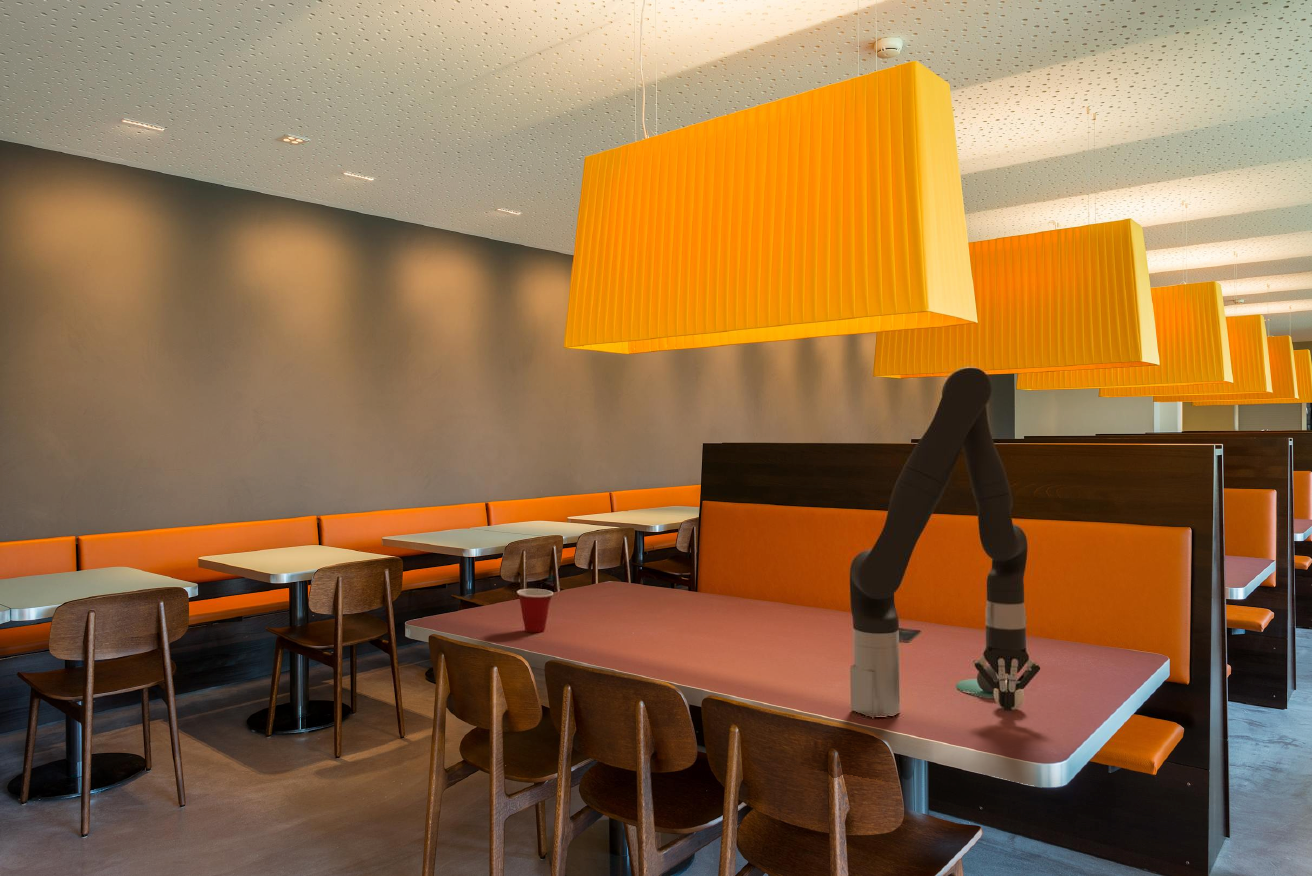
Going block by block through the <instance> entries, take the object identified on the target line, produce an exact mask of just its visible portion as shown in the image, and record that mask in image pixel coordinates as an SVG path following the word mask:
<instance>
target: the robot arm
mask: <svg viewBox="0 0 1312 876" xmlns="http://www.w3.org/2000/svg"><path fill="white" fill-rule="evenodd" d="M992 388H993V386H992V382H991V379H990V377H989V375H988V374H987V373H986V372H985V371H984V370H982V369H980V368H979V367H974V366H968V367H961V368H959V369H957V370H955V371H954V372H952V373H951V374H950V375H949V376H948V377H947V379H946V380H945V381H944V384H943V386H942V390H941V399H940V401H939V403H938V406H937V409H936V411H935V414H934V416H933V418H932V421H931V423H930V424H929V426H928V427H927V429H926V431H925V432H924V433H923V435H922V437H921V438H920V440H919V441H918V442H917V444H916V445H915V447H914V448H913V450H912V452H911V453H910V455H909V457H908V458H907V460H906V462H905V464H904V466H903V468H902V470H901V471H900V474H899V476H898V478H897V480H896V482H895V485H894V486H893V489H892V492H891V495H890V496H891V497H890V500H889V503H888V504H889V505H888V509H887V513H886V514H887V515H886V519H885V522H884V526H883V528H882V531H880V532H881V533H880V534H879V536H878V538H877V540H876V541H875V543H874V544H873V547H872V548H871V549H866V550H863V551H861V552H859V553H858V554H857V555H856V556H855V557H854V558H853V560H852V562H851V564H850V567H849V568H850V569H849V594H850V595H849V596H850V597H849V598H850V599H849V600H850V602H849V603H850V613H851V615H852V617H851V618H852V633H853V634H852V635H853V636H852V639H853V643H852V644H853V646H852V647H853V649H852V650H853V651H852V653H853V655H852V656H853V664H851V665H850V666H849V671H850V673H849V674H850V677H849V678H850V682H849V684H850V685H849V686H850V711H851V710H853V711H856V712H859V713H861V714H864V715H867V716H870V717H876V716H890V715H894V714H897V713H898V712H899V711H900V712H901V702H900V699H901V697H900V642H899V628H900V625H899V624H900V623H899V622H900V620H899V616H898V612H897V609H896V603H895V593H896V592H897V590H899V588H900V586H901V585H902V582H903V579H904V577H905V573H906V571H907V568H908V565H909V562H910V561H911V560H910V559H911V557H912V555H913V552H914V550H915V547H916V545H917V543H918V541H919V539H920V537H921V535H922V534H923V532H924V530H925V529H926V526H927V524H928V522H929V520H930V518H931V516H932V515H933V513H934V511H935V509H936V507H937V505H938V503H940V500H941V498H942V496H943V494H944V492H945V489H946V488H947V486H948V483H949V481H950V479H951V476H952V474H953V472H954V469H955V466H956V465H957V462H958V459H959V456H960V453H961V450H962V451H963V455H964V460H965V465H966V468H967V473H968V478H969V482H970V486H971V490H972V494H973V497H974V501H975V505H976V507H977V508H976V509H977V523H978V532H979V533H978V534H979V540H980V543H981V547H982V549H983V551H984V553H985V555H987V557H989V558H990V559H991V569H990V572H989V573H988V574H987V578H986V605H985V649H984V651H983V654H982V656H981V657H980V658H979V659H975V660H973V662H972V664H973V666H974V667H975V669H976V670H977V672H980V674H981V675H982V676H983V677H984V679H985V680H986V681H987V682H988V684H989V685H990V686H991V687H992V688H996V689H998V693H999V704H1000V706H1001V707H1000V706H999V707H1000V708H1002V709H1003V710H1004V711H1007V710H1008V711H1013V710H1012V707H1014V706H1015V691H1016V690H1018V689H1023V690H1024V689H1025V687H1027V686H1028V685H1029V683H1030V682H1031V681H1032V680H1033V679H1034V677H1035V676H1036V675H1037V674H1038V673H1039V672H1040V670H1041V667H1040V665H1039V664H1038V663H1037V662H1035V661H1033V660H1032V659H1030V655H1029V654H1028V652H1027V618H1026V616H1027V615H1026V613H1027V612H1026V608H1025V583H1024V578H1025V573H1026V567H1027V559H1028V547H1029V546H1028V539H1027V536H1026V533H1025V531H1024V530H1023V529H1022V528H1021V527H1020V526H1019V525H1017V524H1015V523H1013V518H1012V514H1011V510H1012V508H1013V506H1014V503H1013V496H1012V491H1011V487H1010V484H1009V481H1008V476H1007V473H1006V469H1005V467H1004V464H1003V462H1002V459H1001V457H1000V455H999V452H998V450H997V448H996V445H995V443H994V440H993V437H992V433H991V429H990V425H989V419H988V411H987V405H988V403H989V401H990V400H991V397H992V395H993V394H992V392H993V389H992ZM987 663H988V665H987ZM987 666H991V667H992V669H993V670H994V671H995V672H996V676H997V681H996V680H994V679H993V678H992V677H991V676H990V675H989V673H988V672H987V671H986V670H985V669H986V668H987ZM1023 668H1025V670H1024V672H1022V673H1021V675H1020V676H1019V677H1018V674H1019V673H1020V672H1021V670H1022V669H1023ZM1006 680H1007V684H1006ZM1006 686H1007V689H1006ZM853 711H852V712H853ZM856 712H855V713H856ZM859 713H858V714H859ZM861 714H860V715H861ZM864 715H863V716H864ZM867 716H866V717H867ZM870 717H869V718H870Z"/></svg>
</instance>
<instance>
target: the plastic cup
mask: <svg viewBox="0 0 1312 876" xmlns="http://www.w3.org/2000/svg"><path fill="white" fill-rule="evenodd" d="M516 593H517V595H518V597H519V603H520V609H521V615H522V620H523V625H524V630H525V632H526V631H527V632H540V633H542V632H541V631H544V630H545V631H546V625H547V620H548V614H549V608H550V603H551V599H552V597H553V595H554V592H553V591H552V590H548V589H542V588H523V589H518V590H517V591H516ZM545 631H544V632H545ZM527 632H526V633H527Z"/></svg>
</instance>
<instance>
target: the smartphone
mask: <svg viewBox="0 0 1312 876" xmlns="http://www.w3.org/2000/svg"><path fill="white" fill-rule="evenodd" d="M921 633H922V630H920V629H912V628H903V627H899V643H911V641H913V640H914V639H915V638H917V637H918V636H919V635H920V634H921Z"/></svg>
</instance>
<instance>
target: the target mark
mask: <svg viewBox="0 0 1312 876" xmlns="http://www.w3.org/2000/svg"><path fill="white" fill-rule="evenodd" d="M955 687H957V688H958V689H959V690H958V689H957V688H956V689H957V690H958V691H960V690H961V691H966V692H967V691H969V692H971V693H968V694H967V695H969V694H971V695H970V696H973V695H976V696H975V697H977V696H981V697H980V698H983V697H989V698H988V699H991V698H994V694H989V693H986V692H984V691H983V690H982V689H981V688H980V687H979V685H978V683H977V678H970V679H969V678H968V679H964V680H960V681H958V682H957V683H956V685H955ZM961 691H960V692H961ZM972 692H974V693H972ZM976 692H977V693H976Z"/></svg>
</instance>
